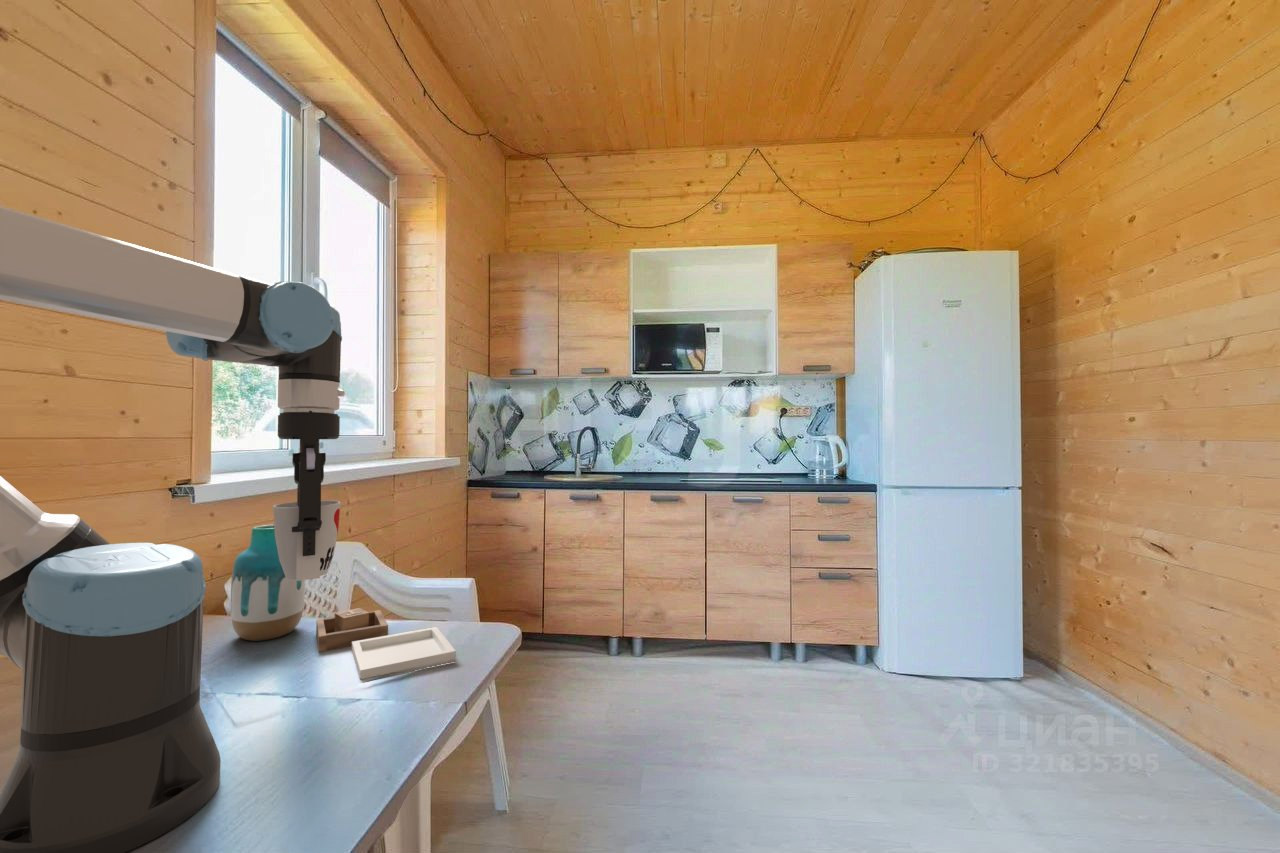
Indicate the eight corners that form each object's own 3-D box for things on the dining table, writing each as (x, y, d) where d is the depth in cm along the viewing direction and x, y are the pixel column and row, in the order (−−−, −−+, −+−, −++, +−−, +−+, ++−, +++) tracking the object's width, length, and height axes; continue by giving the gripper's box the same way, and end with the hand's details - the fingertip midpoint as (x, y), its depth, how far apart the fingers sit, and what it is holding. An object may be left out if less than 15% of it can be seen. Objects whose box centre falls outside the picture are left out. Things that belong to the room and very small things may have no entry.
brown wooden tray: (387, 643, 90) (388, 625, 90) (318, 655, 84) (318, 636, 85) (379, 626, 98) (379, 609, 98) (316, 636, 93) (316, 619, 93)
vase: (238, 632, 95) (241, 524, 96) (308, 624, 99) (310, 520, 100) (221, 653, 85) (224, 533, 86) (299, 643, 90) (301, 528, 90)
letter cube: (368, 636, 92) (368, 612, 92) (343, 642, 89) (343, 617, 89) (359, 630, 94) (359, 607, 94) (334, 636, 91) (334, 612, 91)
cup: (308, 583, 71) (309, 508, 71) (256, 580, 72) (258, 506, 73) (352, 569, 79) (353, 501, 79) (305, 566, 80) (306, 500, 81)
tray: (455, 662, 82) (455, 650, 82) (360, 683, 75) (360, 670, 75) (436, 637, 93) (436, 626, 93) (351, 653, 86) (351, 641, 86)
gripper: (346, 408, 70) (343, 584, 69) (334, 415, 87) (332, 556, 86) (276, 406, 66) (273, 594, 65) (278, 414, 83) (276, 562, 82)
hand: (307, 572), depth 76 cm, fingers closed on cup, 8 cm apart
